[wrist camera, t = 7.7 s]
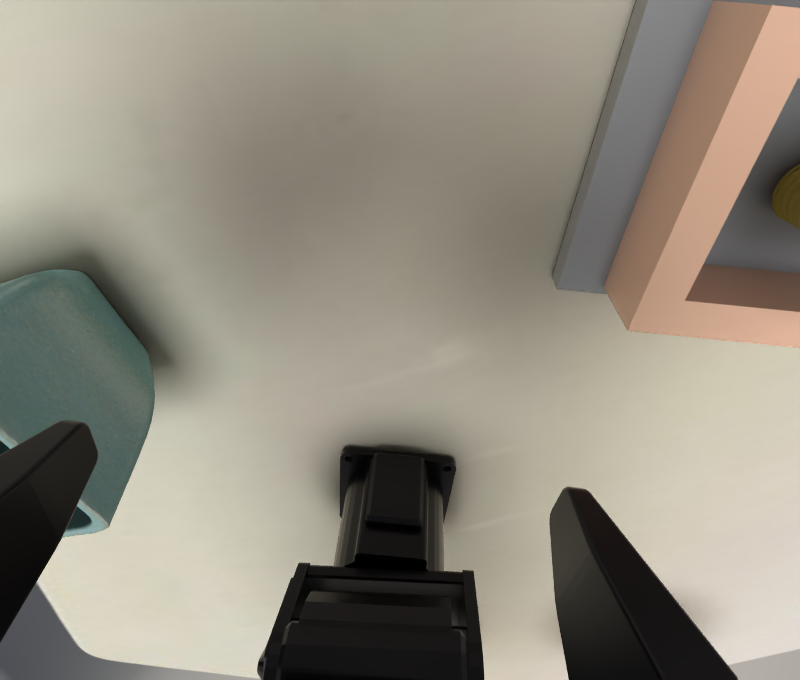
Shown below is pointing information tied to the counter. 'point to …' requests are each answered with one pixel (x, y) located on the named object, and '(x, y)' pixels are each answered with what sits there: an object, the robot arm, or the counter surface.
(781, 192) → the light bulb
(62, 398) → the flower pot
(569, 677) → the robot arm
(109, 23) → the counter surface
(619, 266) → the socket stand
